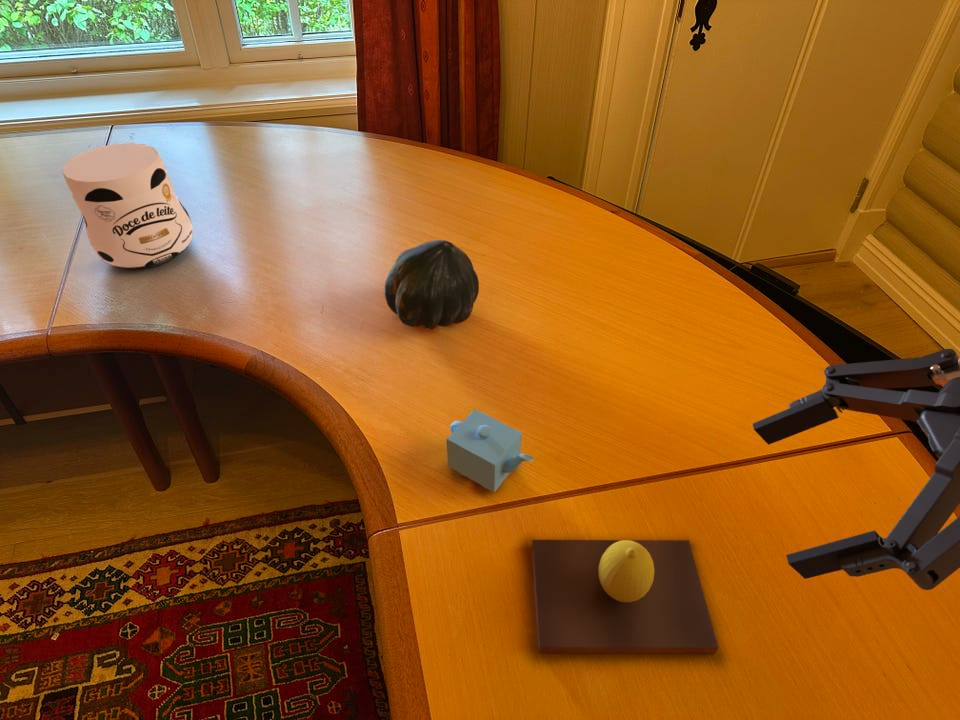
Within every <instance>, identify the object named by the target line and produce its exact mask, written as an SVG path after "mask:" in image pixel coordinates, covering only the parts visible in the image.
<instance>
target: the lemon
mask: <svg viewBox="0 0 960 720" xmlns="http://www.w3.org/2000/svg"><path fill="white" fill-rule="evenodd" d="M621 540H622V541H618V542H616V543H614V544H612V545H611V546H610V547H608V548H607V550H606V551H605V552H604V554H603V555H602V557H601V560H600V563H599V572H598V574H599V579H600V583H601V585H602V587H603V589H604V590H605V591H606V593H607V594H608V595H609V596H611V597H612V598H614V599H616V600H618V601H621V602H633V601H637V600H639V599H640V598H642V597H643V596H644V595H645V594H646V593H647V592H648V591H649V589H650V587H651V585H652V583H653V579H654V564H653V560H652V558H651V556H650V554H649V552H648V551H647V550H646V549H645V548H644V547H643V546H642V545H640V544H639V543H637V542H634V541H629V540H630V539H621Z"/></svg>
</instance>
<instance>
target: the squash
mask: <svg viewBox="0 0 960 720" xmlns="http://www.w3.org/2000/svg"><path fill="white" fill-rule="evenodd" d="M478 277H479V276H478V274H477V272H476V271H475V269H474V265H473V263H472V260H471V259H470V257H469V256H468V254H467V253H466V252H465V251H463V249H461V248H459V247H458V246H456V245H454V243H452V242H451V241H448V240H445V239H436V240H430V241H426V242H423V243H420V244H418V245H416V246H414V247H411V248H408V249H405V250H404V251H402V252H400V254H399V255H398V256H397V258H396V259H395V261H394V264H393V265H392V267H391V268H390V269H389V272H388V274H387V277H386V279H385V281H384V298H385V301H386V304H387V307H388V308H389V309H390V311H392V312H393V313H394V314H395V315H397V317H398V318H399V321H400V322H401V323H402V324H403V325H406V326H408V327H410V328H411V327H412V328H416V327H420V326H423V327H424V328H425V329H428V330H434V329H436V328H437V327H438V326H439V327H448V326H450V325H452V324H460V323H463V322H465V321H467V320H468V319H469V318H470V316H471V314H472V312H473V309H474V306H475V305H474V304H475V302H476V301H477V298H478V295H479V292H480V281H479V278H478Z"/></svg>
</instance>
